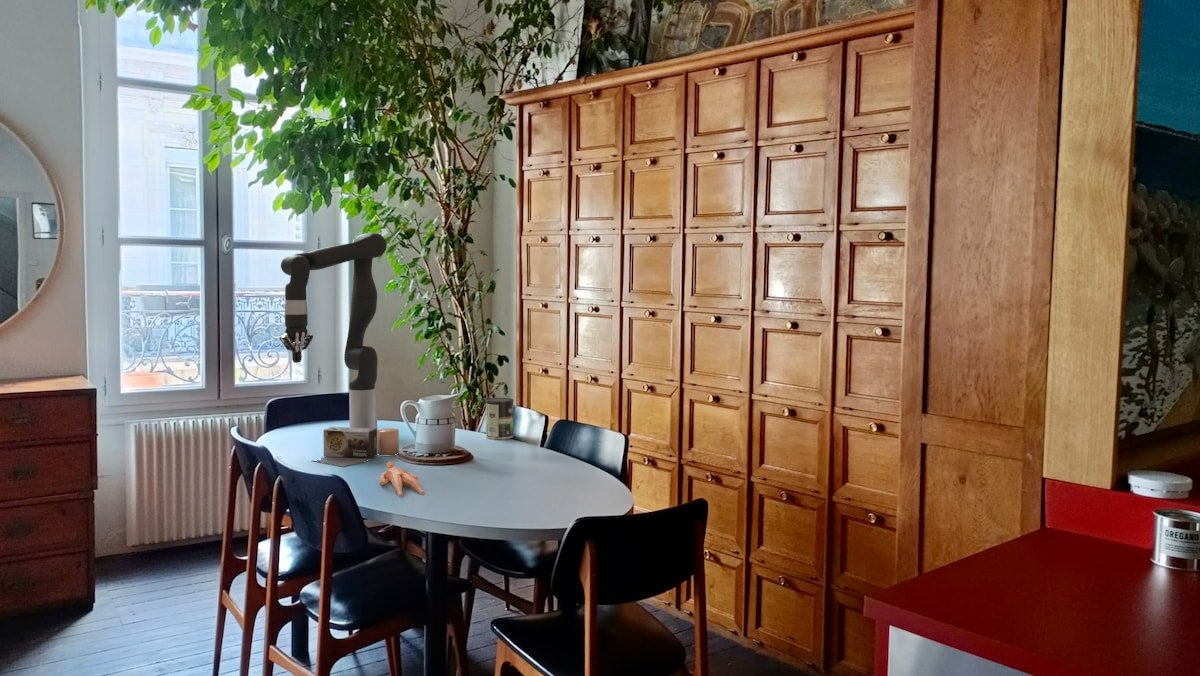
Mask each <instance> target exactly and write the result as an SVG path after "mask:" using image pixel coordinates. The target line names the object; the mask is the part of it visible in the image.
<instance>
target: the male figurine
mask: <svg viewBox="0 0 1200 676" xmlns="http://www.w3.org/2000/svg"><path fill="white" fill-rule="evenodd" d="M394 464H395V463H393V461H391V460H389V461H388V462H386V465H385V466H386V468H387V470H386V471H384V472H382V473H381V474H380V477H379V479H378V482H379V484H380V486H386V485H387V483H388V482H391V485H392V487H393V488H394V490H395V492H396V493H397V495H398V498H403V497H404V494H403V486H404V487H406V488H409V487H411V488H412V489H413V490H415V491H417V492H418V493H419V494H420V496H422V494H423V495H425V491H424V489H422V487H421V484H420V482H419V478H420V477H419V475H414V474H413V473H412V472H409V470H408V471H407V470H405V469H404V468H403V467H398V466H395V465H394Z"/></svg>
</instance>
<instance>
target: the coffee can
mask: <svg viewBox="0 0 1200 676" xmlns="http://www.w3.org/2000/svg"><path fill="white" fill-rule="evenodd" d="M485 438H486V439H489V440H509V439H512V438H514V399H513V398H509V397H490V398H486V399H485Z"/></svg>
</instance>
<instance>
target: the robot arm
mask: <svg viewBox="0 0 1200 676" xmlns="http://www.w3.org/2000/svg"><path fill="white" fill-rule="evenodd" d="M387 247H388V246H387V240H386V239H385V237H384V236H383V235H381V234H379V233H378V232H377V233H375V232H366V233H360V234H359V235H357V236H356V238H355V239H354V241H353V242H349V243H345V244H337V245H331V246H330V245H329V246H324V247H322V248H318V249H314V250H311V251H308V252H307V251H306V252H302V253H295V254H291V255H288V256H285V257H284V258H283V259H282V260H281V262H280V268H281V271H282V272H283V273H284V274H286V276H287V275H288V276H290V278H289V282H288V283H287V284H285V287H284V288H285V289H284V292H285V293H284V326H285V331H284V334H283V335H282V336H279V340H280V342H281V343H282V344H283V346H284V347H285V348H286V350H287V351H290V352H291V356H292V358H291V360H292V362H293V363H295V364H298V363H301V362H302V356H303V355H302V353H303V351H305V350H307V348H308V346H309V345H310V343H311V342H312V340H313V339H314V335H313V334H310V333H309V332H308V331H309V329H308V325H309V324H308V321H309V318H308V317H309V315H308V301H307V298H308V297H307V286H308V282H309V278H310V272H311V271H318V270H323V269H327V268H330V267H331V268H332V267H333V266H334V267H335V266H337V265H340V264H343V263H347V262H350V261H353V277H352V279H353V280H352V290H351V301H350V315H349V316H350V317H349V326H348V332H347V338H346V344H345V349H344V359H343V361H344V365H345V366H346V368H347V369H349V370H351V371H357V377H356V378H355V379H353V380H352V379H351V380H350V381H349V384H348V389H349V390H348V392H349V393H348V394H349V396H348V398H349V401H348V402H349V405H348V406H349V428H367V429H377V430H378V408H377V407H376V397H375V396H376V383H377V380H378V364H379V363H378V355H377V354H378V353H377V351H376V349H375V348H373V347H372V346H368V345H367V346H366V345H364V337H365V334H366V331H367V329H368V327H369V325H370V324H371V322H372V320H373V319H374V318H375V315H376V313H377V307H378V306H377V303H378V290H377V287H376V283H375V280H374V278H373V277H374V276H373V272H372V271H373V270H372V269H373V260H374V259H376V258H379V257H381V256H383V255H384V253H385V252H386V250H387Z"/></svg>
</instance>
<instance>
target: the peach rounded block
mask: <svg viewBox="0 0 1200 676" xmlns="http://www.w3.org/2000/svg"><path fill="white" fill-rule="evenodd" d="M399 431H400V430H399V429H398V428H393V427H392V428H380V429H377V454H379V455H378V456H380V455H394V456H396V455H395V454H397V453H398V452H399V453H400V447H399V446H400V443H399V439H400V438H399V437H400V436H399V434H400V433H399ZM397 455H398V454H397Z"/></svg>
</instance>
